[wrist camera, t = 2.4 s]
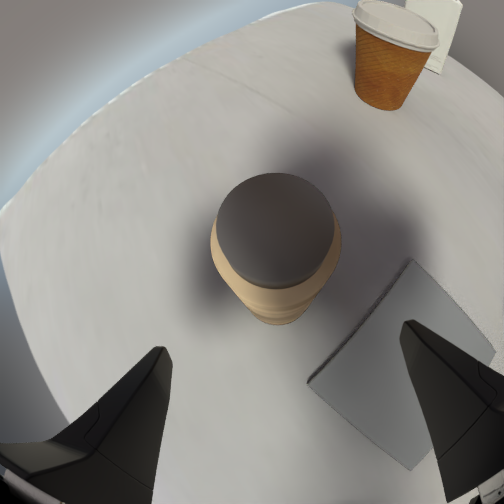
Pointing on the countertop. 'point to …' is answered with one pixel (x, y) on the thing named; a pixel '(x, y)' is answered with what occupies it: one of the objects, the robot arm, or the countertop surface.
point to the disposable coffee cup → (390, 52)
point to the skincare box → (438, 25)
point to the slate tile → (394, 366)
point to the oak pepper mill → (276, 245)
